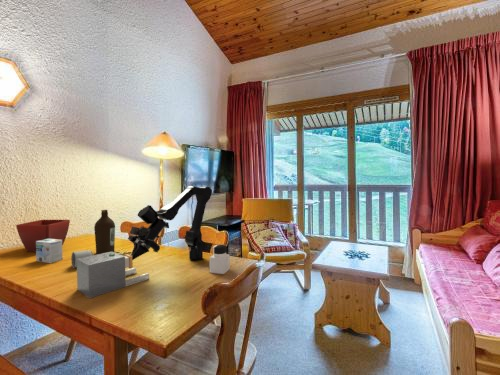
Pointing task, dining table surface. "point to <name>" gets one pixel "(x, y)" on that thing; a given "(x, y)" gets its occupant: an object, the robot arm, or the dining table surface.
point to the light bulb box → (49, 250)
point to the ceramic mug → (79, 256)
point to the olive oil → (104, 234)
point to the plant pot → (42, 232)
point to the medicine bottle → (219, 260)
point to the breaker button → (128, 261)
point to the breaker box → (104, 274)
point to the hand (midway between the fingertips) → (130, 259)
